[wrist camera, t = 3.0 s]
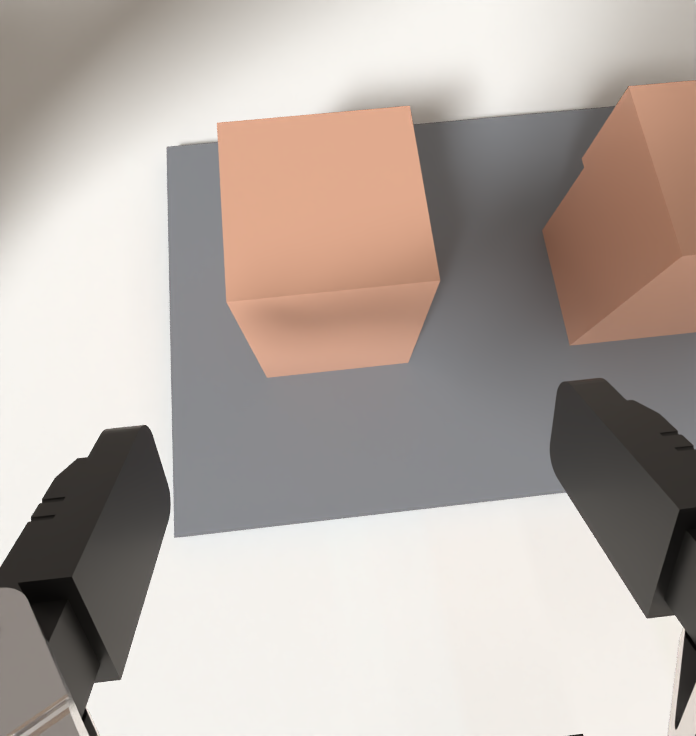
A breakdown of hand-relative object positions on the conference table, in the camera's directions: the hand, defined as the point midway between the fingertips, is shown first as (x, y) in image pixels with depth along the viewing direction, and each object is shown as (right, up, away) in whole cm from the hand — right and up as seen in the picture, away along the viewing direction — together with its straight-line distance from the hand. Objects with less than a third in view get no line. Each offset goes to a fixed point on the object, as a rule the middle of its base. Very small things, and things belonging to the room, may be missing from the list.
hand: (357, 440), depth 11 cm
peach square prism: (-1, +4, +13) cm, 14 cm away
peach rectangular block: (+12, +6, +13) cm, 19 cm away
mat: (+5, +5, +14) cm, 15 cm away
